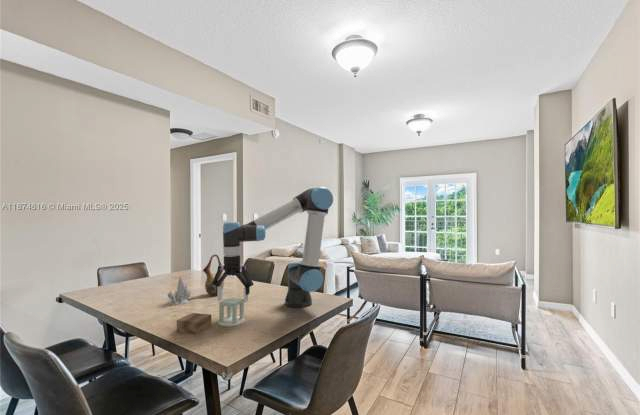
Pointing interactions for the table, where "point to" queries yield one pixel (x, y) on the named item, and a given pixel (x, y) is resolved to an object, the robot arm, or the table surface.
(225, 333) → the table surface
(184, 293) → the crystal
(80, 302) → the table surface
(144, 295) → the table surface
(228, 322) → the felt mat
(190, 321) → the walnut box
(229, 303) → the stool
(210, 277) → the ceramic vessel
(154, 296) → the table surface
